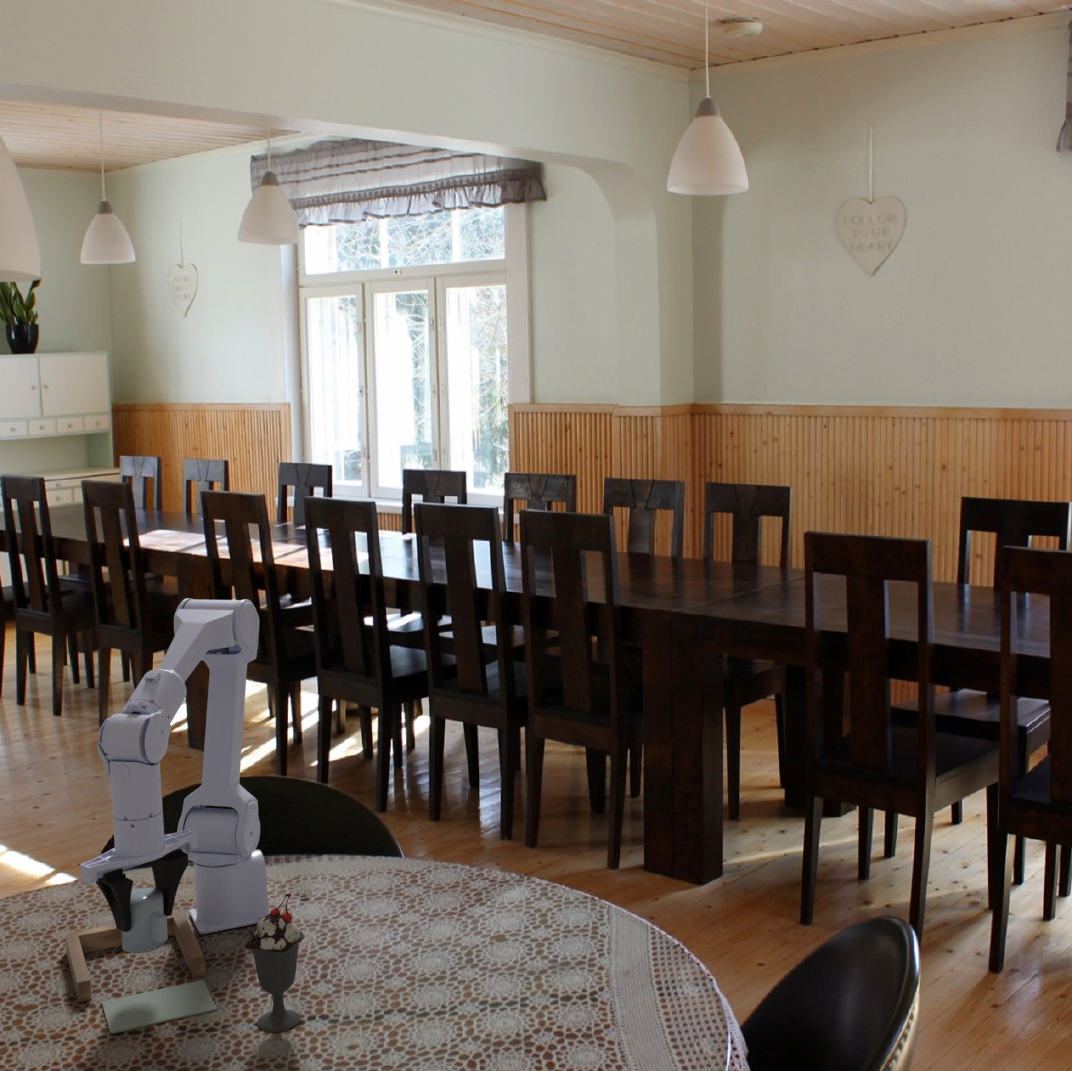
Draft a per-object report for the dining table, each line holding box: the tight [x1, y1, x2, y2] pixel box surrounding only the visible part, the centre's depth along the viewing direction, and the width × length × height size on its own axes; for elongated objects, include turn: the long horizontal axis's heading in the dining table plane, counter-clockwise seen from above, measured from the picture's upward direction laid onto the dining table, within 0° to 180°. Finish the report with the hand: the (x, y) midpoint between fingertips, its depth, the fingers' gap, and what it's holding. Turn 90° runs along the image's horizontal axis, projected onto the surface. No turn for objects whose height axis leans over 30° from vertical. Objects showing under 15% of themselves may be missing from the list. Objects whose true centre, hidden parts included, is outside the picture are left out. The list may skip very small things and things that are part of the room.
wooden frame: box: [64, 910, 206, 1003], centre depth 165 cm, size 15×15×2 cm
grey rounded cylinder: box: [121, 887, 169, 954], centre depth 156 cm, size 7×5×6 cm
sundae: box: [244, 893, 305, 1033], centre depth 149 cm, size 7×7×15 cm
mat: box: [101, 979, 218, 1035], centre depth 154 cm, size 12×8×1 cm, turn 115°
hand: (144, 921), depth 156 cm, fingers closed on grey rounded cylinder, 5 cm apart
